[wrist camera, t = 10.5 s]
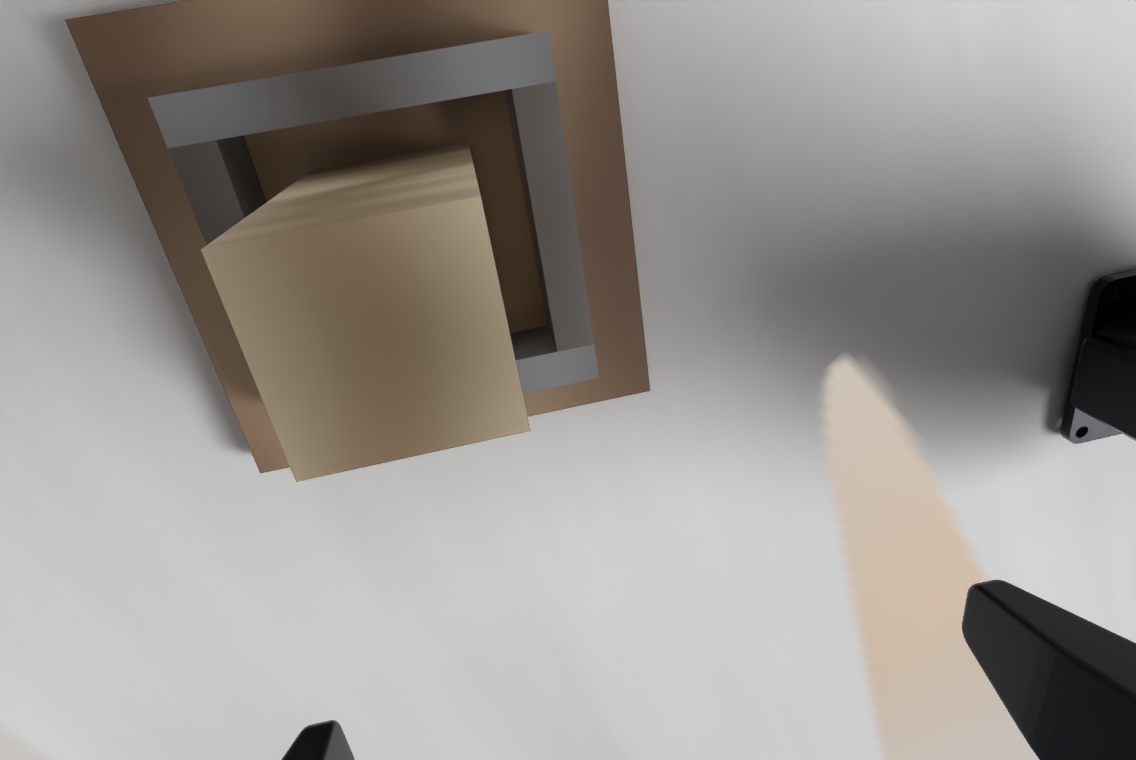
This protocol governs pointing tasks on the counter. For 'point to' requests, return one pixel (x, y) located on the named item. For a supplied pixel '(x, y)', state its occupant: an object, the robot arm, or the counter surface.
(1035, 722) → the robot arm
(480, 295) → the maple peg
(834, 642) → the counter surface
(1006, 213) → the counter surface
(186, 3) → the socket holder
